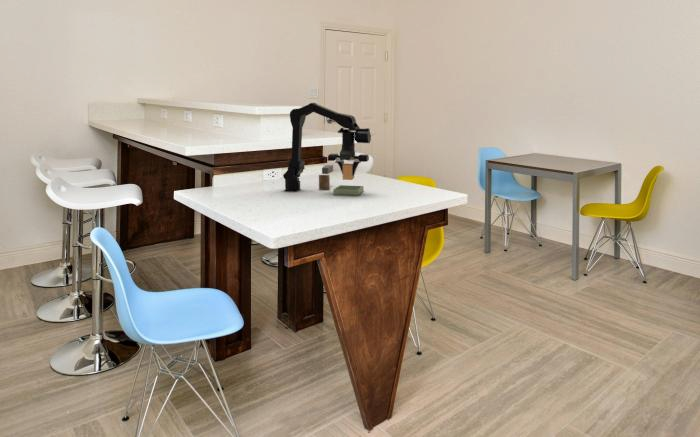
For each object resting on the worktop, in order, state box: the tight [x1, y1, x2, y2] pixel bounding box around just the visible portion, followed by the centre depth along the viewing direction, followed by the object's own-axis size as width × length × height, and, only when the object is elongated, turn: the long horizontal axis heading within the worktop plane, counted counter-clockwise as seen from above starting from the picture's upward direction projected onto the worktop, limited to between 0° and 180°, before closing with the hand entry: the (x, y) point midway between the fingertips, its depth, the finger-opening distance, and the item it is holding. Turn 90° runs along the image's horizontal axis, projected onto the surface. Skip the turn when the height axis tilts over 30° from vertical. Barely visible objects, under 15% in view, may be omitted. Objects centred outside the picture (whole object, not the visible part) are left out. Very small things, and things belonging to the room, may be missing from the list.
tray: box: [332, 184, 364, 197], centre depth 253 cm, size 12×12×3 cm
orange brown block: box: [342, 162, 355, 181], centre depth 251 cm, size 4×5×7 cm
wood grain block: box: [318, 174, 331, 191], centre depth 262 cm, size 5×2×7 cm, turn 77°
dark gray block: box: [321, 164, 334, 175], centre depth 267 cm, size 3×10×3 cm, turn 167°
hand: (348, 175), depth 252 cm, fingers closed on orange brown block, 4 cm apart
